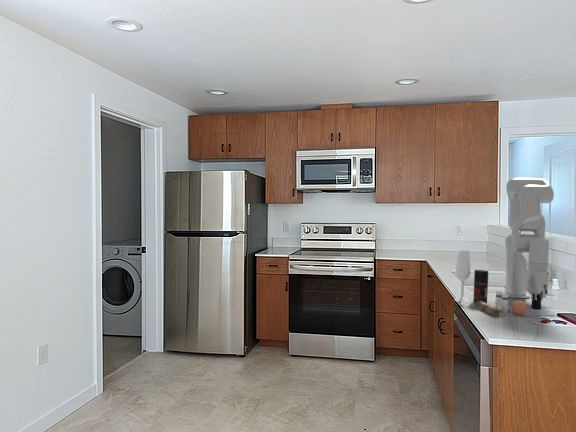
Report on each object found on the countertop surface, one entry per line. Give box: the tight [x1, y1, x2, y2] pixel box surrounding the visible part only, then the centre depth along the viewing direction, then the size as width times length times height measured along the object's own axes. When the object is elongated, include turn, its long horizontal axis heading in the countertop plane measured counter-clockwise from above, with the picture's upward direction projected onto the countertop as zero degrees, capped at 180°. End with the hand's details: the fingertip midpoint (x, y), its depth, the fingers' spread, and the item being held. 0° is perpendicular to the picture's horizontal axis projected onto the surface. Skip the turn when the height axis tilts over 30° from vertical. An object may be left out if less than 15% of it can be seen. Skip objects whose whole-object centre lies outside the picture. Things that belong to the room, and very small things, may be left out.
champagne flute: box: [454, 249, 471, 303], centre depth 216 cm, size 7×7×24 cm
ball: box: [510, 300, 528, 316], centre depth 190 cm, size 6×6×6 cm
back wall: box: [475, 301, 500, 318], centre depth 194 cm, size 16×2×3 cm, turn 3°
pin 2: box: [501, 293, 509, 314], centre depth 192 cm, size 2×2×8 cm
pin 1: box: [495, 290, 503, 306], centre depth 197 cm, size 2×2×8 cm
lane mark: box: [499, 308, 556, 317], centre depth 195 cm, size 11×25×1 cm, turn 92°
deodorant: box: [472, 269, 489, 304], centre depth 212 cm, size 6×6×15 cm
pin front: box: [492, 305, 511, 312], centre depth 194 cm, size 2×2×8 cm
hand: (536, 309), depth 195 cm, fingers closed
